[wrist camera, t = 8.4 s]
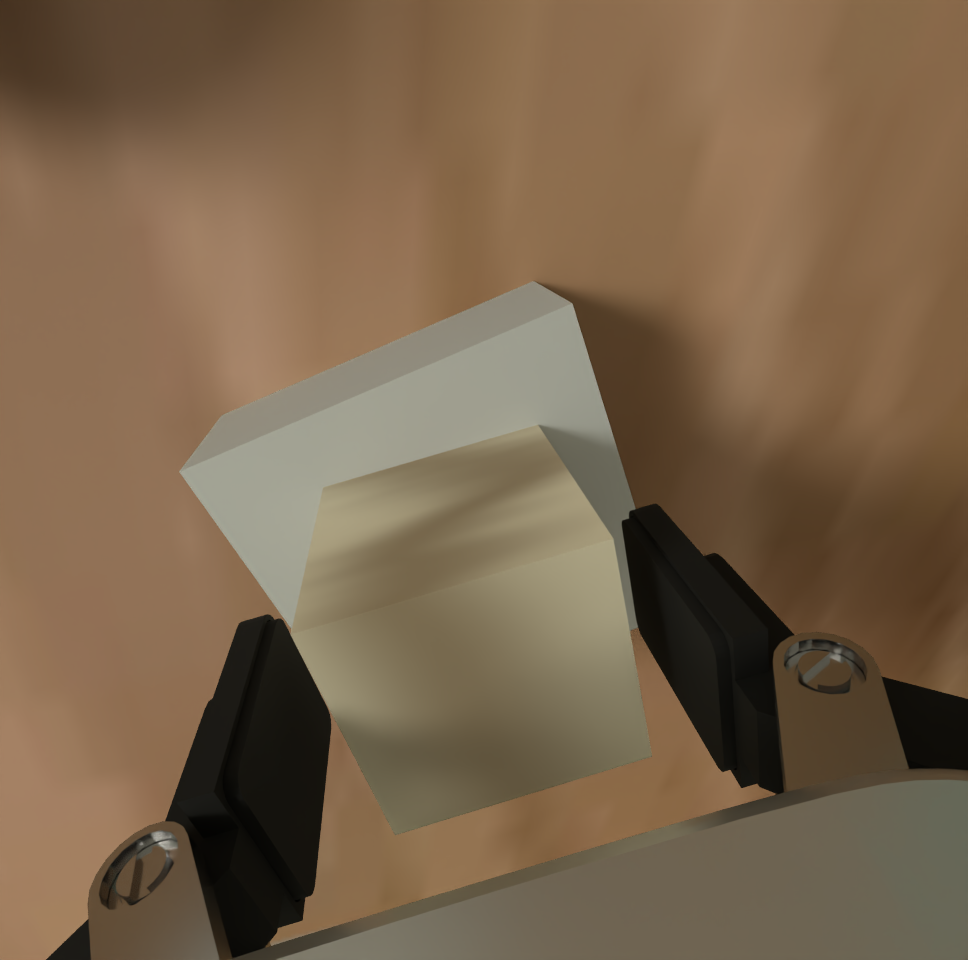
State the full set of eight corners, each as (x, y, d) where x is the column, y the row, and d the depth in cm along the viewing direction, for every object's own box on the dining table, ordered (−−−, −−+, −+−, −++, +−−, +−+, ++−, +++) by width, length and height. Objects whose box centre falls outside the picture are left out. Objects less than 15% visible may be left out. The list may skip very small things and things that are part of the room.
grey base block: (530, 279, 16) (572, 303, 12) (617, 540, 20) (668, 615, 16) (224, 411, 16) (179, 471, 13) (371, 641, 20) (368, 737, 17)
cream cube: (537, 424, 13) (613, 538, 9) (576, 596, 16) (652, 756, 11) (323, 487, 13) (290, 634, 9) (392, 651, 16) (394, 835, 11)
